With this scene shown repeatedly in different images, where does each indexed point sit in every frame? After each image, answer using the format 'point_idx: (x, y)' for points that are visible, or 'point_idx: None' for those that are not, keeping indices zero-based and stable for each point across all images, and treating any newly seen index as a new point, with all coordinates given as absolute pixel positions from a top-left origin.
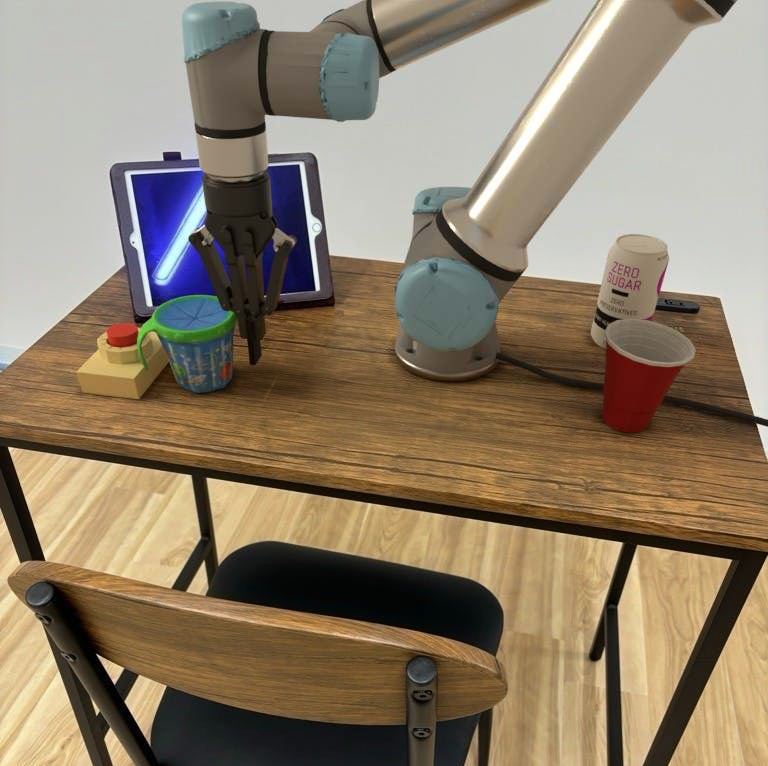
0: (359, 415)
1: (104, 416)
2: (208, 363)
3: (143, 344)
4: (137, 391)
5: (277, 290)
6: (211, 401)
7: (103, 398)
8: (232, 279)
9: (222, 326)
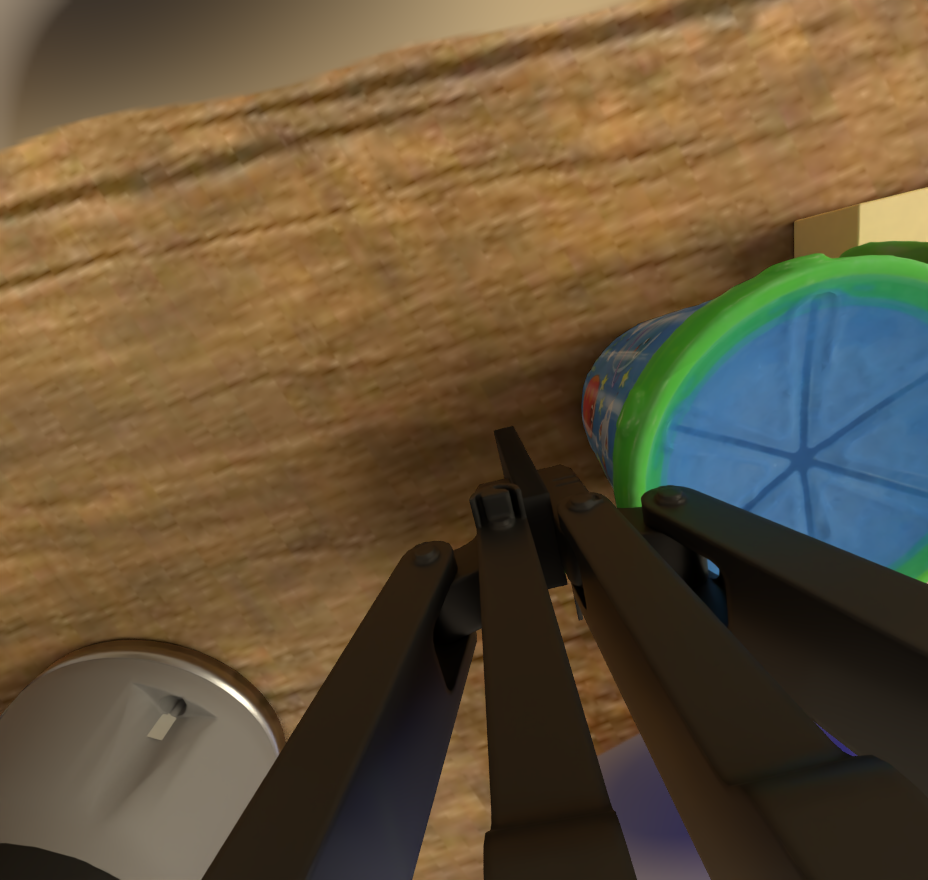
0: (183, 427)
1: (856, 84)
2: (635, 342)
3: None
4: (815, 216)
5: (337, 670)
6: (585, 311)
7: (902, 178)
8: (703, 631)
9: (636, 419)
